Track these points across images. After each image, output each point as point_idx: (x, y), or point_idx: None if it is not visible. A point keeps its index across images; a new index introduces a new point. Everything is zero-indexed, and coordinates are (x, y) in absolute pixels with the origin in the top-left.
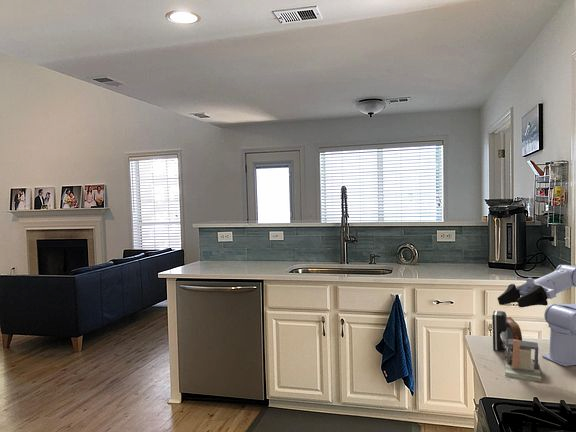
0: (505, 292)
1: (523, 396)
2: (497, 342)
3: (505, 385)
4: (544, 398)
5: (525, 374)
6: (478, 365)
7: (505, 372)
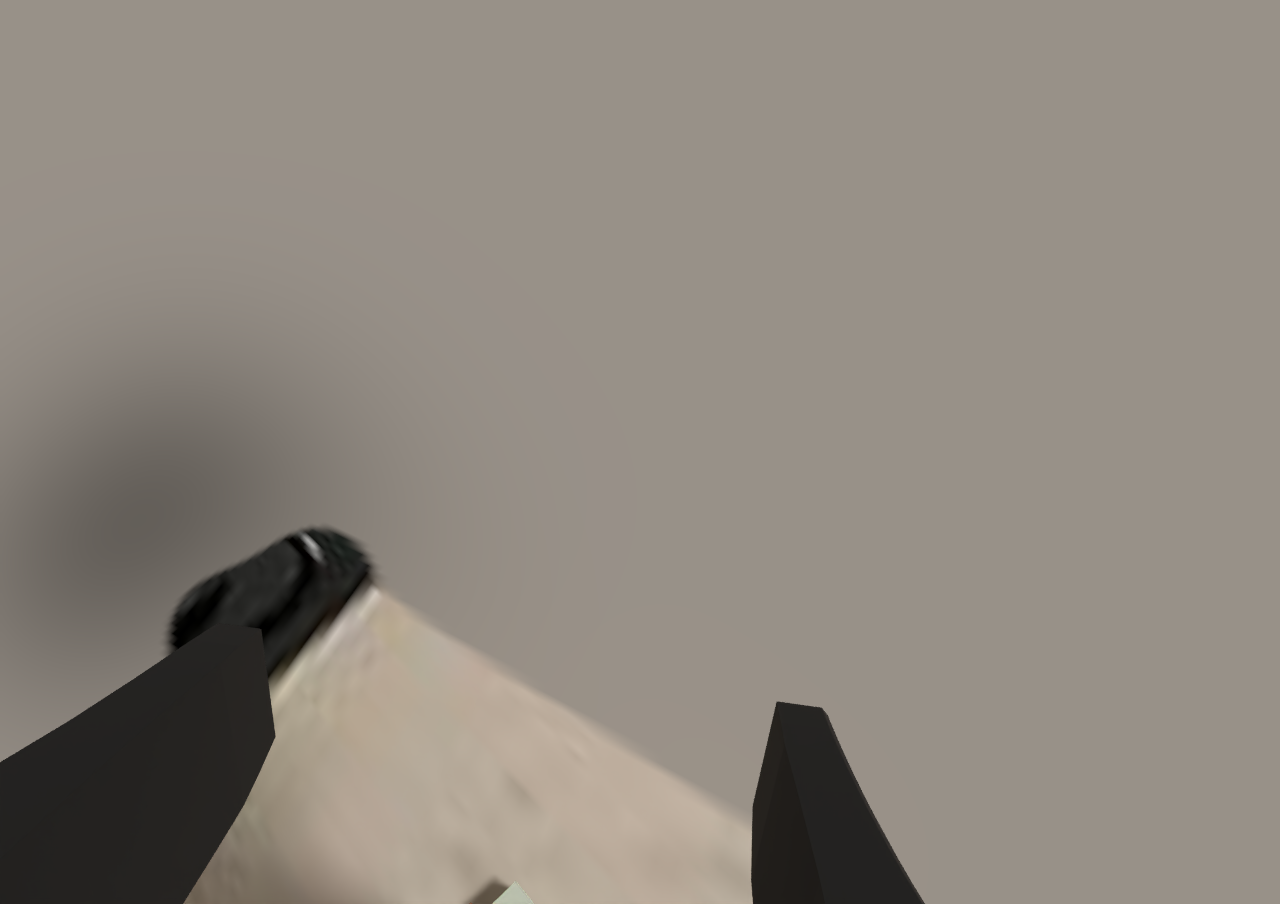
0: (858, 888)
1: None
2: None
3: (412, 766)
4: None
5: None
6: None
7: (515, 883)
